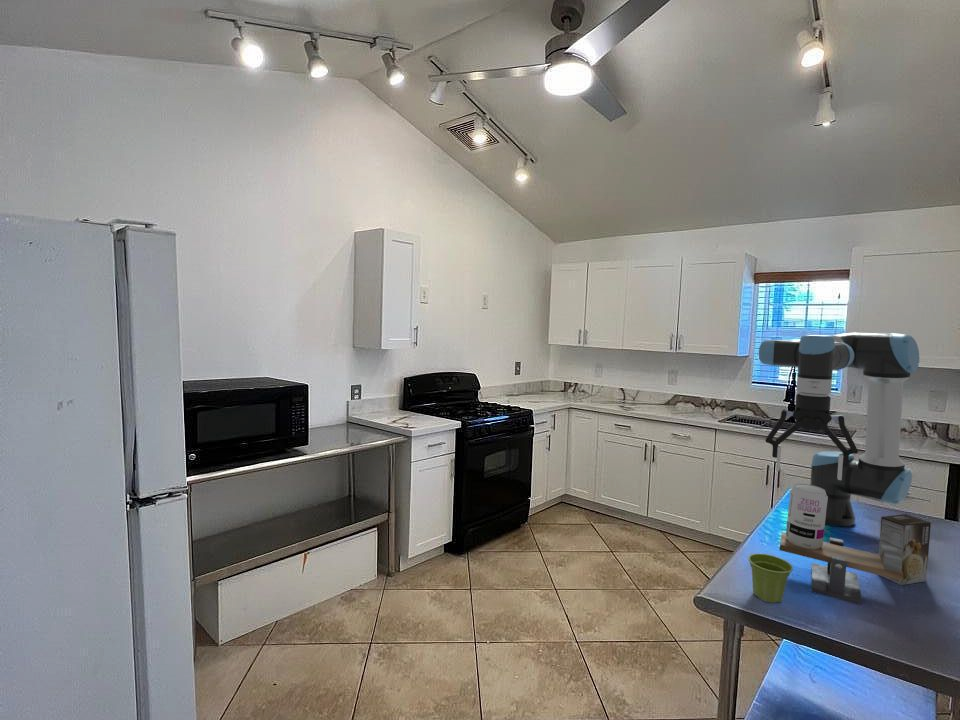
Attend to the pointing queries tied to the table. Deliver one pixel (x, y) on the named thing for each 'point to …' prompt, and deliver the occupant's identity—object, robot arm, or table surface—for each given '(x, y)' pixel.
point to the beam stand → (836, 579)
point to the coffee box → (907, 545)
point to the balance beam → (853, 557)
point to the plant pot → (769, 576)
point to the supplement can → (806, 516)
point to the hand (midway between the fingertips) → (807, 474)
